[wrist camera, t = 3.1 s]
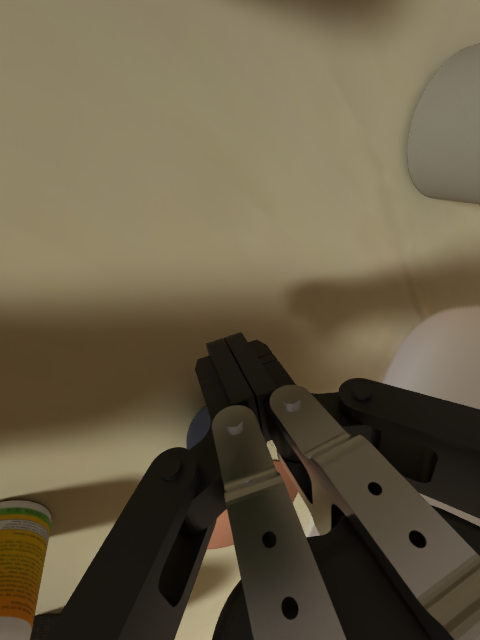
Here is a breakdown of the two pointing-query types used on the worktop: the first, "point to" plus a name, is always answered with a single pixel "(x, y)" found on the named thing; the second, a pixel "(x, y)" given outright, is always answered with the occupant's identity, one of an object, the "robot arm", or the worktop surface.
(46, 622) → the coffee cup
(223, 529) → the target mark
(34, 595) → the supplement bottle
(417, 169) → the travel mug
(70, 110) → the worktop surface
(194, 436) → the ball
